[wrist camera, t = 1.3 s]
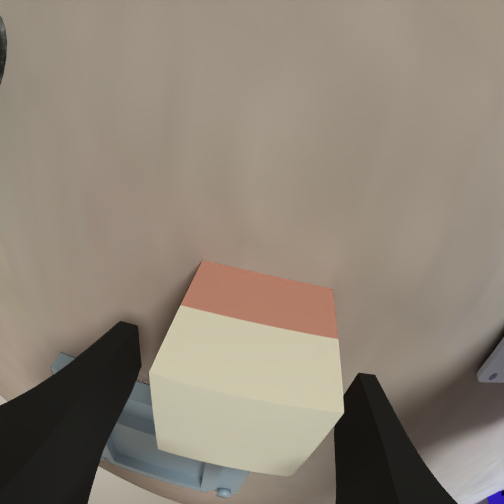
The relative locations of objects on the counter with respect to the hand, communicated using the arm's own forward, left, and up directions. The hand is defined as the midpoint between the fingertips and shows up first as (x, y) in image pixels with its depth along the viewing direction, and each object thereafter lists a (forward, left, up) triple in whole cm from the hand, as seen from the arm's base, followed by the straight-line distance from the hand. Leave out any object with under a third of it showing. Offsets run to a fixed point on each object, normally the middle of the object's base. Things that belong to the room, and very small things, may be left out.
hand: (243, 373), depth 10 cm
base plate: (+4, +12, -2) cm, 13 cm away
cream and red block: (0, 0, -3) cm, 3 cm away
